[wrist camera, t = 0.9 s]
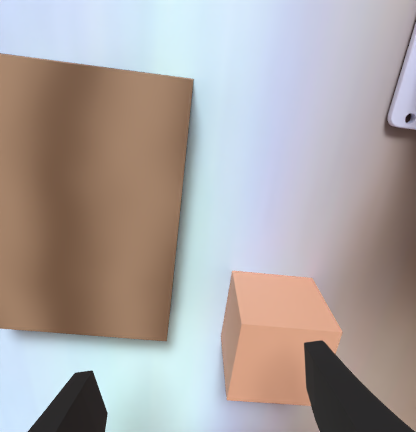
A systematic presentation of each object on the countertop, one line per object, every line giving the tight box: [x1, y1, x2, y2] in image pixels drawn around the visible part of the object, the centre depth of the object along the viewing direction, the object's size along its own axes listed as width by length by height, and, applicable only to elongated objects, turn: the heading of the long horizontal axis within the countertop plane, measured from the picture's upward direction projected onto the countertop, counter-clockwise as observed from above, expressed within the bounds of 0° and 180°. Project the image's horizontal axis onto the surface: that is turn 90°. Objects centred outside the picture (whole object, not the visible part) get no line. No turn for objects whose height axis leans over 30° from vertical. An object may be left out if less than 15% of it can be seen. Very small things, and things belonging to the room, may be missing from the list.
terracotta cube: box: [221, 271, 343, 406], centre depth 20 cm, size 5×5×5 cm
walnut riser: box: [0, 53, 194, 341], centre depth 18 cm, size 10×14×2 cm
